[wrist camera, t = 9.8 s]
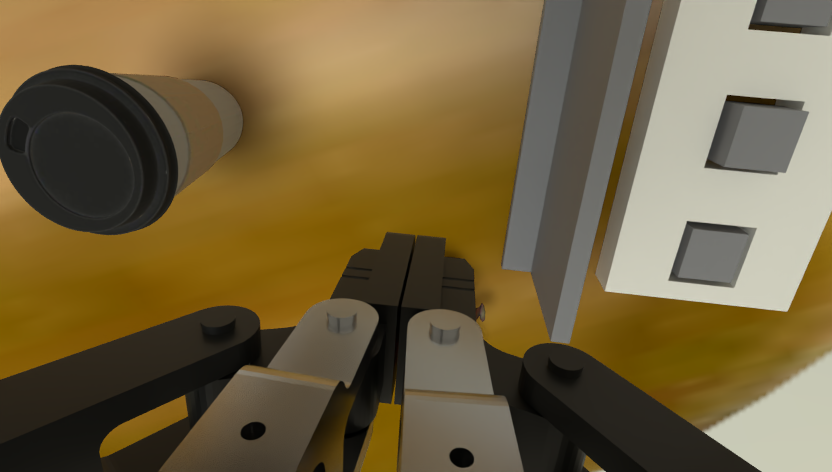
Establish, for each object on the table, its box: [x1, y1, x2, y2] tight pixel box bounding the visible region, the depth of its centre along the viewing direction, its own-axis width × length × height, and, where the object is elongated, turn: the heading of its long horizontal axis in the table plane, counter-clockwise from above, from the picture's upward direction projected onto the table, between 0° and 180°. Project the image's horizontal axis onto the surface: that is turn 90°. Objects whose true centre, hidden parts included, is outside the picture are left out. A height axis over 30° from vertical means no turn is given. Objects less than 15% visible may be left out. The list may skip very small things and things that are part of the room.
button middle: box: [707, 101, 809, 173], centre depth 33 cm, size 4×4×3 cm
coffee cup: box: [0, 65, 243, 235], centre depth 32 cm, size 9×9×15 cm
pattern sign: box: [501, 0, 652, 343], centre depth 31 cm, size 26×6×11 cm, turn 176°
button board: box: [595, 0, 832, 311], centre depth 34 cm, size 26×14×3 cm, turn 176°
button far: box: [672, 221, 749, 283], centre depth 37 cm, size 4×4×3 cm
